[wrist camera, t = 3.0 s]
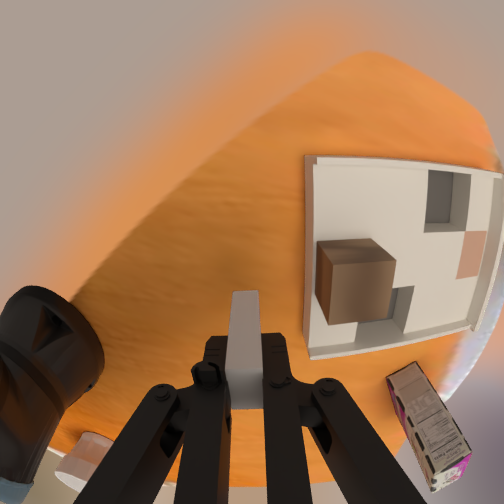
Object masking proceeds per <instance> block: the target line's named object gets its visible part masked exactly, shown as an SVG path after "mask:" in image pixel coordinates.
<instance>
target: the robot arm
mask: <svg viewBox="0 0 504 504" xmlns="http://www.w3.org/2000/svg"><path fill="white" fill-rule="evenodd" d="M103 368H104V355H103V351H102V347H101V345H100V342H99V340H98V338H97V336H96V334H95V333H94V331H93V329H92V328H91V326H90V325H89V324H88V322H87V321H86V320H85V318H84V317H83V316H82V315H81V314H80V313H79V312H78V311H77V310H76V309H75V308H74V307H73V306H72V305H71V304H70V303H69V302H68V301H66V300H65V299H64V298H62V297H61V296H59V295H57V294H56V293H55V292H53V291H51V290H48V289H46V288H44V287H40V286H26V287H23V288H21V289H20V290H19V291H18V292H16V293H15V294H14V295H13V296H12V297H11V298H10V299H9V300H8V301H7V303H6V305H5V307H4V309H3V311H2V313H1V315H0V501H2V502H4V503H6V504H21V503H22V502H23V501H24V499H25V497H26V495H27V494H28V492H29V490H30V488H31V487H32V486H33V484H34V481H33V479H34V477H35V474H36V472H37V470H38V467H39V465H40V463H41V460H42V458H43V456H44V453H45V451H46V449H47V447H48V445H49V443H50V441H51V438H52V436H53V434H54V432H55V430H56V428H57V426H58V424H59V422H60V420H61V418H62V416H63V414H64V412H65V410H66V409H67V408H68V407H70V406H71V405H72V404H73V403H74V402H76V401H77V400H78V399H79V398H80V397H81V396H82V395H83V394H84V393H85V392H88V391H89V390H90V389H92V388H93V387H94V385H95V384H96V383H97V381H98V379H99V377H100V375H101V373H102V371H103ZM191 373H192V377H193V380H194V384H193V385H191V386H189V387H186V388H182V389H177V390H176V389H175V388H174V387H173V386H171V385H169V384H159V385H156V386H154V387H152V388H151V389H150V390H149V391H148V393H147V394H146V396H145V397H144V399H143V400H142V402H141V403H140V405H139V406H138V407H137V409H136V410H135V412H134V413H133V415H132V416H131V418H130V419H129V421H128V422H127V424H126V425H125V427H124V428H123V430H122V431H121V433H120V434H119V436H118V437H117V438H116V440H115V441H114V443H113V444H112V446H111V447H110V449H109V450H108V452H107V453H106V455H105V456H104V458H103V459H102V461H101V462H100V464H99V465H98V467H97V468H96V470H95V471H94V473H93V474H92V476H91V477H90V479H89V480H88V482H87V483H86V485H85V486H84V488H83V489H82V491H81V492H80V494H79V495H78V497H77V498H76V500H75V501H74V503H73V504H153V502H154V500H155V498H156V496H157V494H158V492H159V490H160V488H161V486H162V485H163V483H164V481H165V479H166V477H167V475H168V473H169V471H170V469H171V467H172V465H173V463H174V461H175V459H176V457H177V455H178V453H179V451H180V449H181V447H182V445H183V449H182V454H181V460H180V466H179V472H178V478H177V485H176V491H175V498H174V504H228V491H229V468H230V445H231V424H232V418H231V408H232V409H262V408H263V409H264V431H265V454H266V478H267V502H268V504H313V502H312V495H311V488H310V481H309V474H308V467H307V460H306V453H305V446H304V440H303V433H302V427H301V426H305V427H308V429H309V431H310V433H311V435H312V437H313V439H314V441H315V443H316V445H317V446H318V448H319V450H320V452H321V454H322V456H323V458H324V460H325V462H326V464H327V466H328V467H329V469H330V471H331V473H332V475H333V477H334V479H335V481H336V482H337V484H338V486H339V488H340V490H341V491H342V493H343V495H344V497H345V499H346V501H347V502H348V504H427V503H426V502H425V501H424V499H423V497H422V496H421V495H420V493H419V492H418V490H417V489H416V488H415V486H414V485H413V483H412V482H411V480H410V479H409V478H408V476H407V475H406V474H405V472H404V471H403V469H402V468H401V466H400V465H399V464H398V462H397V461H396V459H395V458H394V456H393V455H392V454H391V452H390V451H389V449H388V448H387V447H386V445H385V444H384V442H383V441H382V440H381V438H380V437H379V435H378V434H377V432H376V431H375V430H374V428H373V427H372V425H371V424H370V423H369V421H368V420H367V418H366V417H365V416H364V414H363V413H362V411H361V410H360V408H359V407H358V406H357V404H356V403H355V401H354V400H353V399H352V397H351V396H350V394H349V393H348V391H347V390H346V389H345V387H344V386H343V384H342V383H341V382H339V381H338V380H336V379H334V378H322V379H320V380H318V381H316V382H315V383H314V384H308V383H303V382H300V381H298V380H296V379H295V378H294V377H293V376H292V374H291V370H290V363H289V357H288V352H287V346H286V340H285V337H284V336H283V335H282V334H281V333H264V334H261V328H260V311H259V293H258V290H250V291H233V294H232V304H231V313H230V323H229V333H228V336H211V337H210V338H209V340H208V341H207V342H206V347H205V352H204V357H203V361H201V362H198V363H197V364H195V365H194V366H193V367H192V369H191Z"/></svg>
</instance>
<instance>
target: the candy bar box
mask: <svg viewBox="0 0 504 504" xmlns="http://www.w3.org/2000/svg"><path fill="white" fill-rule="evenodd" d="M386 380H387V383H388V387H389V390H390V394H391V397H392V401H393V404H394V408H395V412H396V415H397V416H398V419H399V421H400V423H401V425H402V427H403V429H404V431H405V433H406V436H407V438H408V440H409V442H410V444H411V446H412V449H413V451H414V453H415V456H416V458H417V460H418V462H419V465H420V467H421V469H422V471H423V474H424V476H425V479H426V481H427V483H428V486H429V488H430V491H431V493H435V492H436V491H438V490H440V489H442V488H444V487H446V486H447V485H449V484H451V483H452V482H454V481H456V480H457V479H459V478H460V477H461V476H462V475H463V473H464V471H465V468H466V466H467V464H468V462H469V460H470V457H471V455H472V453H473V452H472V450H471V448H470V447H469V445H468V443H467V441H466V440H465V438H464V436H463V434H462V433H461V431H460V429H459V427H458V426H457V424H456V422H455V421H454V419H453V417H452V416H451V414H450V413H449V411H448V410H447V408H446V406H445V405H444V403H443V402H442V400H441V398H440V397H439V395H438V394H437V392H436V391H435V389H434V388H433V386H432V384H431V383H430V381H429V380H428V378H427V377H426V375H425V374H424V372H423V371H422V369H421V368H420V366H419V365H418V363H417V362H416V361H415V362H413V363H411V364H409V365H407V366H406V367H404V368H402V369H401V370H399V371H397V372H395V373H393V374H392V375H390V376H388V377H386Z"/></svg>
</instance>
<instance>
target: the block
mask: <svg viewBox="0 0 504 504" xmlns="http://www.w3.org/2000/svg"><path fill="white" fill-rule="evenodd" d="M396 262H397V260H396V259H395V258H394V257H393V256H391V255H390V254H389V253H388V252H387V251H386V250H384V249H383V248H382V247H381V246H380V245H378V244H377V243H376V242H375V241H374V240H372V239H371V238H364V239H345V240H326V241H317V243H316V274H315V296H316V298H317V300H318V303H319V305H320V307H321V310H322V312H323V314H324V317H325V319H326V322H327V324H328V325H337V324H345V323H353V322H361V321H368V320H375V319H382V318H387V313H388V308H389V303H390V298H391V292H392V287H393V281H394V275H395V268H396Z"/></svg>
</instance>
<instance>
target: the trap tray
mask: <svg viewBox="0 0 504 504" xmlns="http://www.w3.org/2000/svg"><path fill="white" fill-rule="evenodd" d="M304 159H305V222H306V223H305V287H304V314H303V336H304V340H305V343H306V347H307V350H308V354H309V358H310V360H318V359H326V358H333V357H341V356H347V355H354V354H360V353H366V352H372V351H377V350H383V349H388V348H393V347H398V346H403V345H407V344H412V343H416V342H421V341H425V340H429V339H433V338H437V337H441V336H444V335H448V334H452V333H455V332H459V331H462V330H466V329H469V328H470V329H471V330H472V331H473V332H475V331H478V329H479V327H480V324H481V321H482V318H483V316H484V313H485V310H486V307H487V304H488V301H489V298H490V294H491V291H492V288H493V284H494V281H495V277H496V273H497V269H498V265H499V261H500V257H501V252H502V247H503V242H504V174H502V173H498V172H494V171H490V170H486V169H481V168H476V167H469V166H463V165H456V164H448V163H440V162H432V161H423V160H412V159H400V158H387V157H369V156H342V155H304ZM364 238H371V239H372V240H374V241H375V242H376V243H377V244H378V245H380V246H381V247H382V248H383V249H384V250H386V251H387V252H388V253H389V254H390V255H391V256H393V257H394V258H395V259H396V260H397V262H396V268H395V275H394V281H393V287H392V292H391V298H390V303H389V308H388V313H387V318H382V319H375V320H368V321H361V322H353V323H345V324H337V325H328V324H327V322H326V319H325V317H324V314H323V312H322V310H321V307H320V305H319V303H318V300H317V298H316V296H315V274H316V243H317V241H326V240H345V239H364Z"/></svg>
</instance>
